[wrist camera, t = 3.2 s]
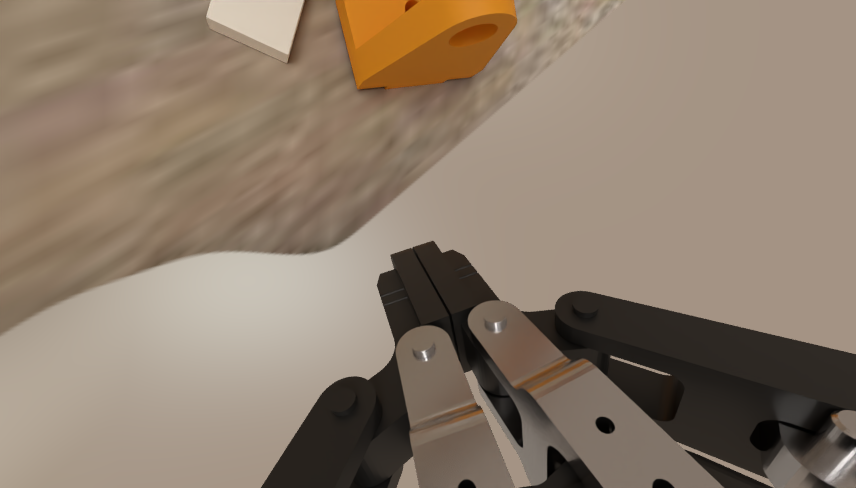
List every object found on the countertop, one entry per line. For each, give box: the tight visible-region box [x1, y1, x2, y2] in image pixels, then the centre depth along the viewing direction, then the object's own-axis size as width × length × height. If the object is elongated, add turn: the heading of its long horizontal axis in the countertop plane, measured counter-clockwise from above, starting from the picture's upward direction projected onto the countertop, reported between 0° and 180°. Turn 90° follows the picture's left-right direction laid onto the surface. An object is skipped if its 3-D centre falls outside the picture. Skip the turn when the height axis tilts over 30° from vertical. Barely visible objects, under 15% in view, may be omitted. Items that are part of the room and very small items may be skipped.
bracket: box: [336, 0, 517, 89], centre depth 24 cm, size 11×7×12 cm, turn 104°
